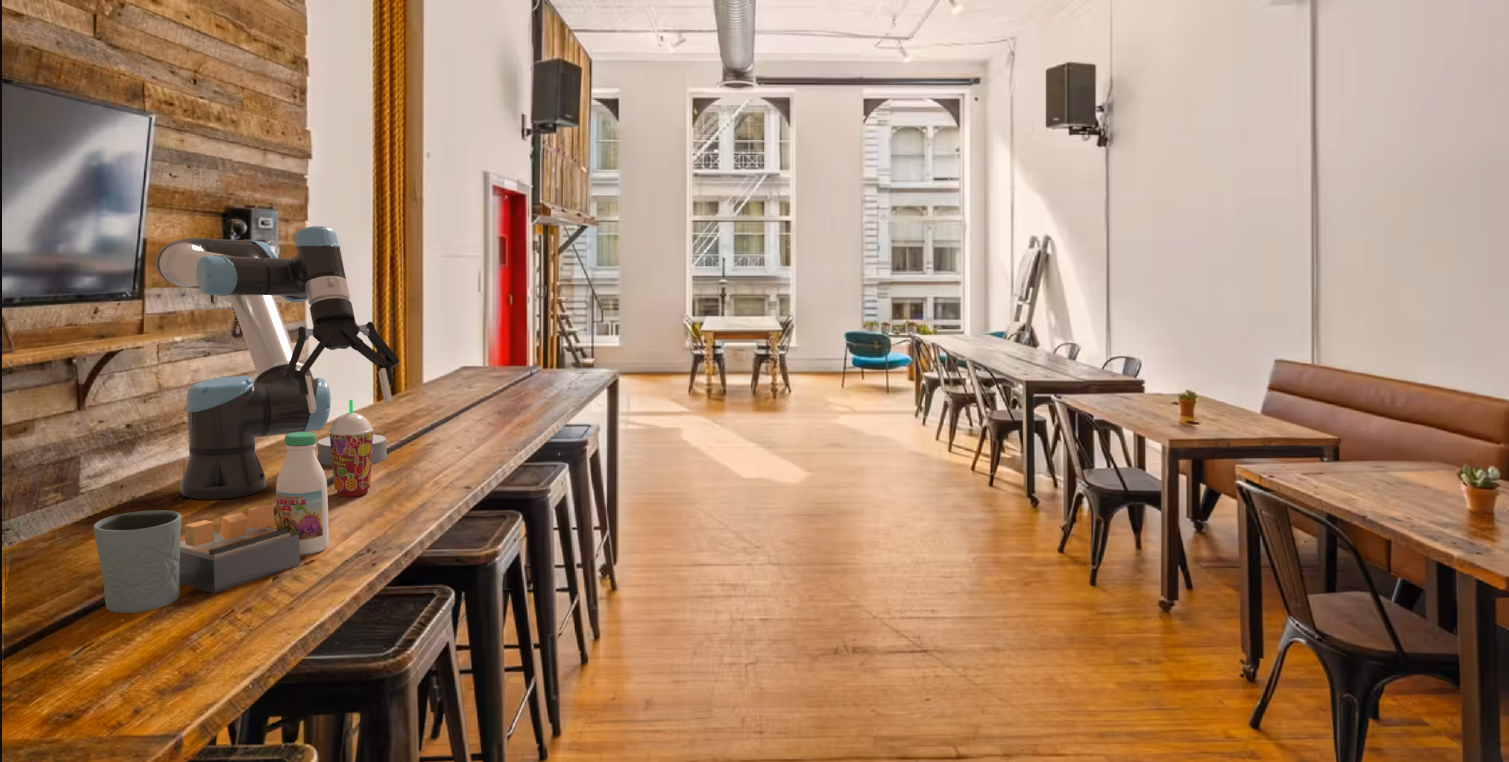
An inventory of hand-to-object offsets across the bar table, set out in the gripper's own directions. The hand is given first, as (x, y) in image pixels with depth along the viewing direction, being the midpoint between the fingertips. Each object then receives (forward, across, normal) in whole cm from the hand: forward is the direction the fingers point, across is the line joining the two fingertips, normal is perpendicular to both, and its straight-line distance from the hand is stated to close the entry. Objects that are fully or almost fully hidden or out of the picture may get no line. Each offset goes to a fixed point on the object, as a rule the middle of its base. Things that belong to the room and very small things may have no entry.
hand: (351, 406), depth 164 cm
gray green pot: (+29, -38, -19) cm, 51 cm away
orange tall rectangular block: (+23, -30, -18) cm, 41 cm away
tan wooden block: (+22, -21, -13) cm, 33 cm away
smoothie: (+14, +2, +21) cm, 25 cm away
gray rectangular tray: (+27, -25, -13) cm, 40 cm away
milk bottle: (+26, -14, -8) cm, 31 cm away
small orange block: (+22, -25, -16) cm, 37 cm away
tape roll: (+1, +10, +51) cm, 52 cm away
